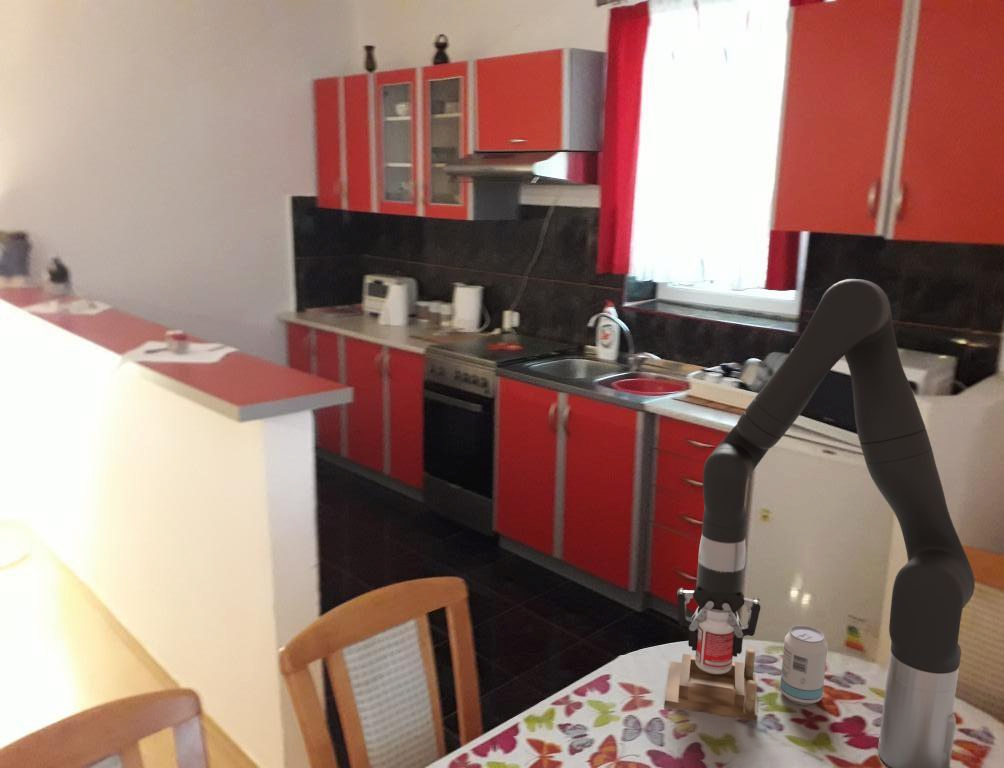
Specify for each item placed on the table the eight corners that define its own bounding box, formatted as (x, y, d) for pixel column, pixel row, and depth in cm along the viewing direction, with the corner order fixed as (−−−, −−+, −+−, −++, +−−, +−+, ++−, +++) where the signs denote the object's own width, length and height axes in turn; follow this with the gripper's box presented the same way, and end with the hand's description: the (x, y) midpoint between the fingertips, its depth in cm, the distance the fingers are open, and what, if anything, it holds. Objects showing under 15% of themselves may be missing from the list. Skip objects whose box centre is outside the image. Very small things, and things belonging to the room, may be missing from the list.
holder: (754, 679, 148) (757, 648, 147) (756, 721, 136) (759, 687, 134) (669, 666, 152) (671, 636, 151) (664, 705, 139) (666, 673, 138)
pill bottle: (739, 669, 142) (744, 609, 140) (714, 679, 138) (719, 618, 136) (711, 652, 147) (716, 595, 145) (687, 662, 144) (691, 603, 141)
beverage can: (830, 702, 141) (837, 638, 139) (801, 712, 138) (807, 647, 136) (799, 682, 147) (806, 620, 145) (770, 691, 144) (776, 628, 142)
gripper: (765, 557, 141) (757, 647, 144) (679, 546, 144) (673, 634, 148) (767, 575, 133) (758, 669, 137) (676, 564, 137) (670, 655, 141)
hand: (714, 651), depth 142 cm, fingers closed on pill bottle, 6 cm apart
